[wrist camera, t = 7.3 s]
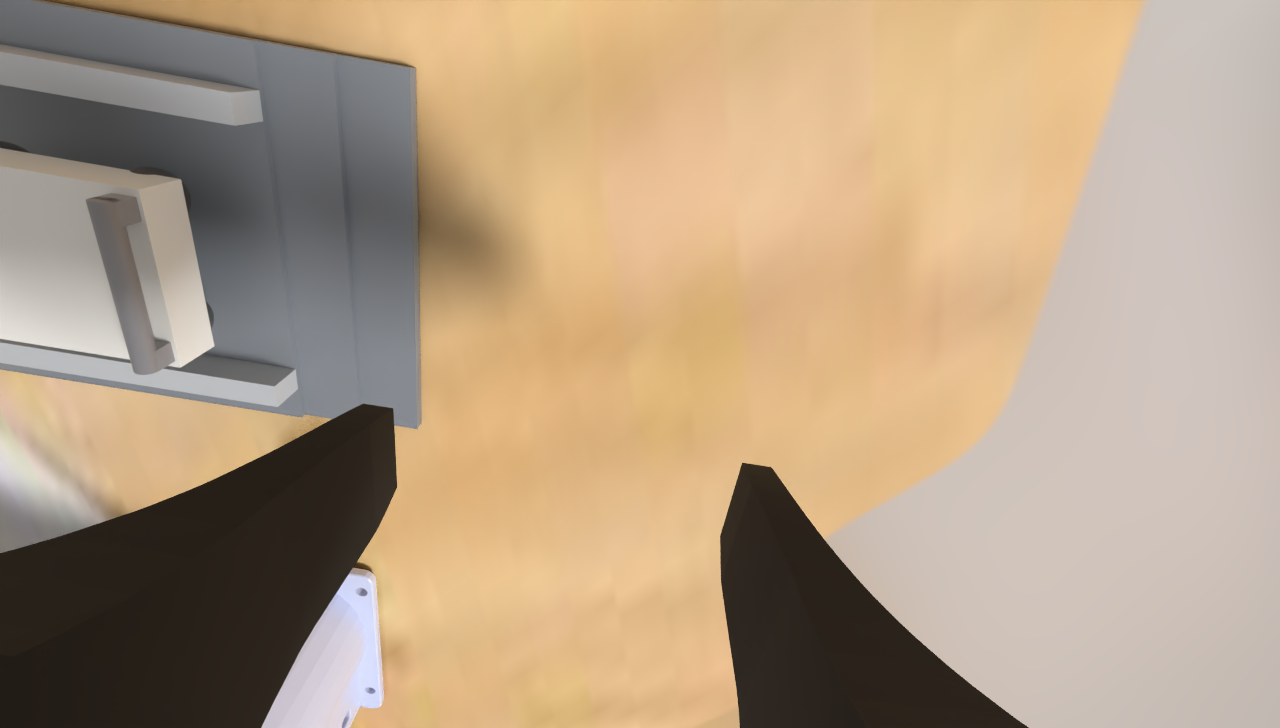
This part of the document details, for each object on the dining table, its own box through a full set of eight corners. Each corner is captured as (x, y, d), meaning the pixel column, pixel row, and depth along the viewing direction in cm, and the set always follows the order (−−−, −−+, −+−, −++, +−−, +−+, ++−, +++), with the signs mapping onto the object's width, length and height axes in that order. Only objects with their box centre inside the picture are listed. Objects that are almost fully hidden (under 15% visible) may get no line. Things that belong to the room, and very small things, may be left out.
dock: (421, 422, 22) (394, 462, 20) (-18, 352, 21) (-94, 385, 19) (415, 67, 16) (377, 69, 14) (-179, -40, 16) (-312, -56, 14)
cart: (236, 335, 19) (156, 386, 16) (45, 304, 19) (-72, 350, 16) (206, 168, 16) (106, 193, 13) (-14, 130, 16) (-165, 147, 13)
